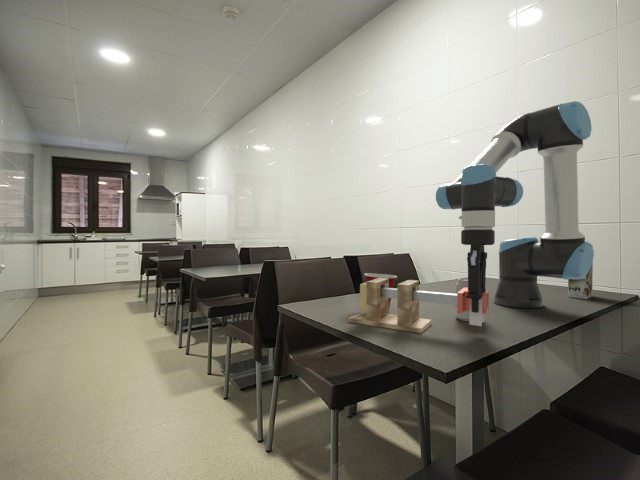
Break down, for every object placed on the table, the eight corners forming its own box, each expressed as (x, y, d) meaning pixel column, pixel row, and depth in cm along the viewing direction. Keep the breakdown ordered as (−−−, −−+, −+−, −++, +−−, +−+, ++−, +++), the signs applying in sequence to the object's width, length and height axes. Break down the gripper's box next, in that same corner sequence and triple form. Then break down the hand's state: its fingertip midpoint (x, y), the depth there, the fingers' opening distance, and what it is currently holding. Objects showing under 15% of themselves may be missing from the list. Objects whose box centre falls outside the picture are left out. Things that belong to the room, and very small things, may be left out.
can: (486, 323, 97) (486, 280, 96) (458, 322, 98) (458, 280, 98) (479, 316, 104) (479, 277, 104) (453, 315, 105) (453, 276, 105)
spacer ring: (378, 305, 103) (378, 281, 103) (367, 310, 97) (367, 284, 97) (370, 305, 105) (370, 280, 104) (360, 309, 98) (360, 284, 98)
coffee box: (588, 299, 128) (588, 256, 127) (567, 297, 133) (567, 255, 132) (593, 296, 134) (593, 255, 134) (572, 294, 139) (573, 254, 138)
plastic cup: (404, 311, 112) (404, 274, 112) (378, 315, 106) (378, 276, 106) (382, 304, 121) (382, 271, 121) (357, 308, 116) (357, 273, 116)
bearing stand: (431, 324, 96) (431, 281, 96) (421, 333, 88) (421, 286, 87) (363, 314, 107) (363, 276, 107) (348, 321, 99) (348, 280, 99)
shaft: (489, 308, 88) (490, 289, 87) (485, 316, 80) (485, 295, 80) (376, 296, 104) (376, 280, 104) (363, 302, 97) (363, 284, 97)
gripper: (467, 228, 93) (466, 314, 94) (454, 228, 80) (453, 328, 80) (498, 228, 89) (497, 318, 90) (490, 228, 76) (489, 334, 76)
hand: (476, 323), depth 85 cm, fingers closed on shaft, 3 cm apart
